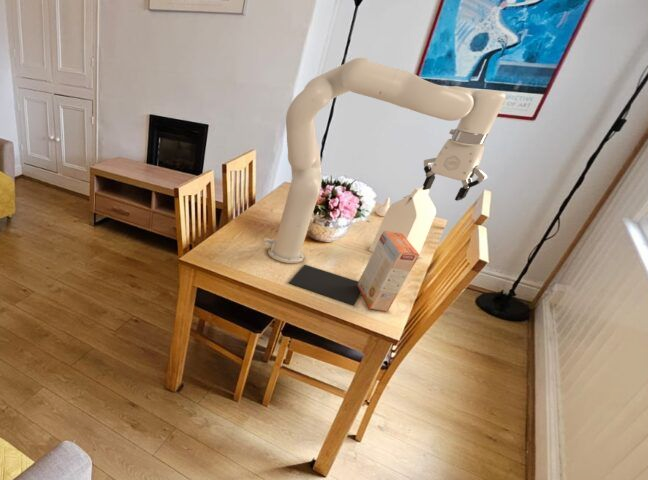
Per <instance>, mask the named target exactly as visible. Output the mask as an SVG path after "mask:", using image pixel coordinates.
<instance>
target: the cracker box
mask: <svg viewBox="0 0 648 480" xmlns="http://www.w3.org/2000/svg"><path fill="white" fill-rule="evenodd" d="M419 257H420V254H419V253H418V252H417V251H416V250H415V248H414V247H413V246H412V245H411V244H410V242H409V241H408V240H407V239H406V237H405V236H404V235H403V234H402V233H398V232H389V231H383V233H382V235H381V237H380V239H379V241H378V243H377V245H376V247H375V249H374V251H373V252H372V253H371V255H370V258H369V260H368V262H367V263H366V266H365V268H364V269H363V272H362V274H361V276H360V278H359V279H358V284H357V286H358V288H359V290H360V292H361V294H360V295H361V296H362V298H363V299H364V302H365V303H366V305H367V307H368V309H369V310H375V311H381V312H389V310H390V308H391V306H392V305H393V303H394V301H395V299H396V298H397V296H398V294H399V292H400V291H401V289H402V287H403V285H404V283H405V281H406V280H407V278H408V276H409V274H410V272H411V271H412V270H413V268H414V266H415V264H416V263H417V260H418V259H419Z"/></svg>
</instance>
